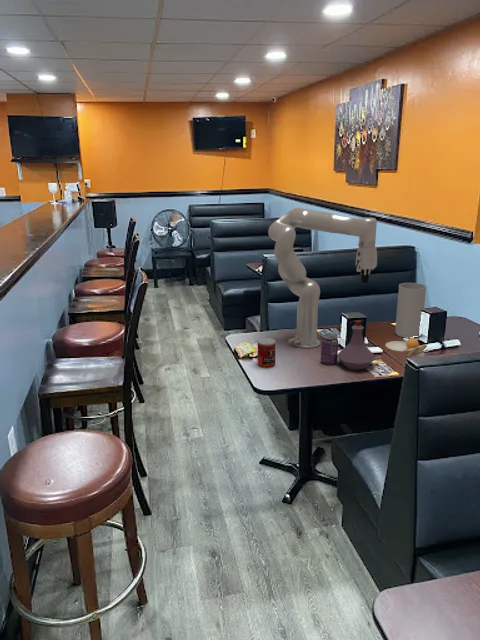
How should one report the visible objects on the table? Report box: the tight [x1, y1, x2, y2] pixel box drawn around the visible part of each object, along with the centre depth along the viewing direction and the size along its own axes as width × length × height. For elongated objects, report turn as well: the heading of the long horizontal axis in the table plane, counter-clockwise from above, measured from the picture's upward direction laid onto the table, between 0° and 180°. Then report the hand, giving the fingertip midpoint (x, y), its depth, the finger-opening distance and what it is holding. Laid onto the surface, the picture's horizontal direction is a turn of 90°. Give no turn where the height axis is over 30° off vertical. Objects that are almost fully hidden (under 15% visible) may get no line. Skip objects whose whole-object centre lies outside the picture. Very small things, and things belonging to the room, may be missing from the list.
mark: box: [385, 340, 408, 353], centre depth 234 cm, size 13×13×1 cm
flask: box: [337, 319, 376, 371], centre depth 210 cm, size 16×16×20 cm
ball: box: [405, 338, 420, 349], centre depth 229 cm, size 6×6×6 cm
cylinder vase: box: [394, 282, 427, 339], centre depth 245 cm, size 12×12×25 cm
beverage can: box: [320, 333, 339, 365], centre depth 215 cm, size 7×7×12 cm
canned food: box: [257, 337, 276, 369], centre depth 214 cm, size 8×8×11 cm
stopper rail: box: [402, 343, 428, 358], centre depth 225 cm, size 14×2×2 cm, turn 121°
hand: (364, 282), depth 240 cm, fingers closed
